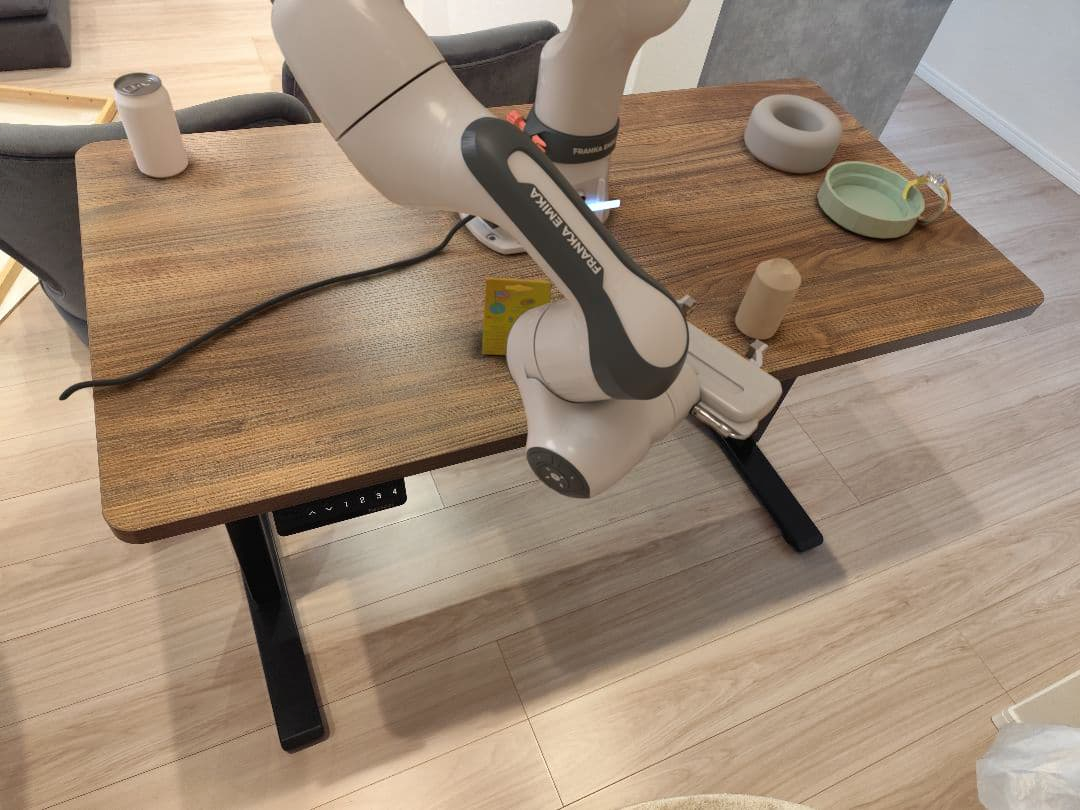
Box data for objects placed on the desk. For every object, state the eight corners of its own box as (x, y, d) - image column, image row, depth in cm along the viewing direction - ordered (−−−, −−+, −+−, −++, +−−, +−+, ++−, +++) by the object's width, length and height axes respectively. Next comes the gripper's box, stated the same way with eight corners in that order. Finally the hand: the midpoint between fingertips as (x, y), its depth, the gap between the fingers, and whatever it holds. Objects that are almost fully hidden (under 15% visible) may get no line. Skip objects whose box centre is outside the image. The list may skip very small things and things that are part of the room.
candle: (776, 344, 94) (806, 285, 86) (733, 334, 94) (760, 275, 86) (775, 315, 97) (805, 256, 89) (735, 306, 97) (760, 246, 90)
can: (199, 165, 103) (176, 83, 94) (161, 185, 100) (133, 102, 90) (167, 147, 105) (141, 65, 96) (128, 166, 101) (97, 83, 92)
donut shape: (786, 119, 131) (800, 83, 126) (847, 165, 123) (865, 128, 118) (723, 136, 125) (736, 99, 120) (784, 185, 117) (800, 147, 112)
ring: (889, 208, 116) (915, 164, 110) (903, 204, 117) (929, 160, 111) (922, 234, 112) (951, 190, 106) (936, 230, 114) (965, 186, 108)
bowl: (866, 252, 108) (878, 230, 105) (795, 195, 116) (805, 173, 113) (931, 227, 114) (945, 206, 111) (860, 174, 122) (871, 153, 119)
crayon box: (541, 340, 89) (554, 267, 80) (542, 358, 87) (555, 285, 78) (481, 336, 89) (486, 262, 80) (480, 354, 87) (486, 280, 78)
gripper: (750, 427, 69) (817, 355, 76) (585, 313, 76) (660, 257, 84) (729, 465, 74) (794, 393, 81) (575, 354, 81) (648, 298, 89)
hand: (725, 323), depth 83 cm, fingers open, 8 cm apart
